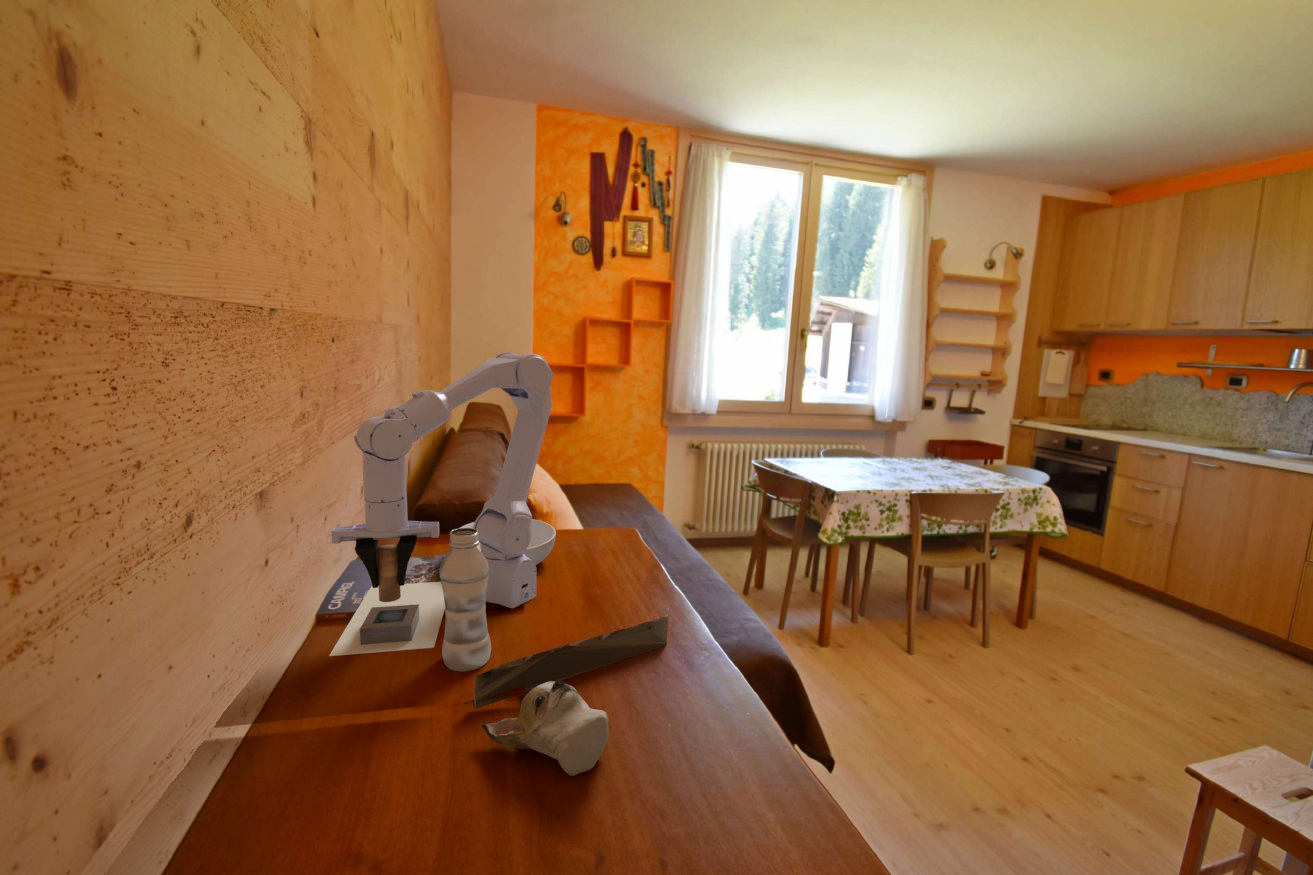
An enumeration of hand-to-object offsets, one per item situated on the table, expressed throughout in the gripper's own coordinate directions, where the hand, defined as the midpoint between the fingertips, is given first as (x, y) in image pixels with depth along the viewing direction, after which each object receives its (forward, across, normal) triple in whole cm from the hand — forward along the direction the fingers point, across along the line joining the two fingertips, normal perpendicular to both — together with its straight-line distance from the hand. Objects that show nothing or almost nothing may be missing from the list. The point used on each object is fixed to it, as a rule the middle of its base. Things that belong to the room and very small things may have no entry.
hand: (389, 584), depth 87 cm
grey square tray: (+8, 0, 0) cm, 8 cm away
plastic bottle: (+9, -11, +11) cm, 18 cm away
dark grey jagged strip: (+9, -27, +16) cm, 32 cm away
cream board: (+9, 0, -6) cm, 11 cm away
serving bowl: (+9, -18, -27) cm, 34 cm away
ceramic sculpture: (+9, -21, +31) cm, 38 cm away
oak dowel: (+2, 0, 0) cm, 2 cm away
